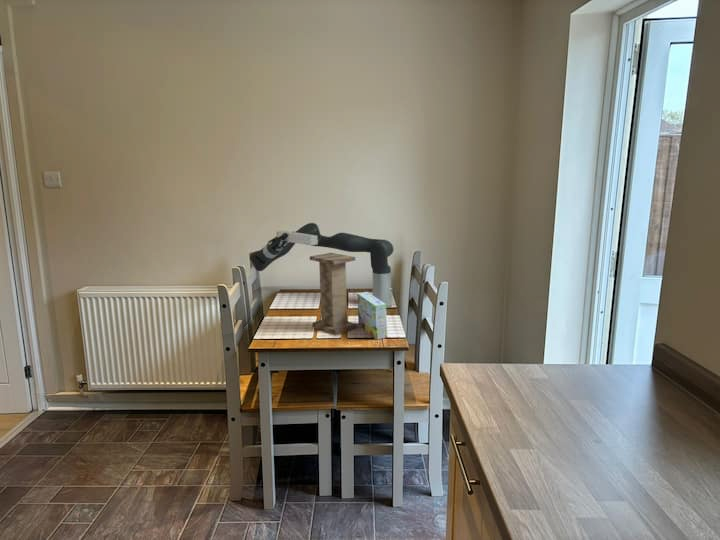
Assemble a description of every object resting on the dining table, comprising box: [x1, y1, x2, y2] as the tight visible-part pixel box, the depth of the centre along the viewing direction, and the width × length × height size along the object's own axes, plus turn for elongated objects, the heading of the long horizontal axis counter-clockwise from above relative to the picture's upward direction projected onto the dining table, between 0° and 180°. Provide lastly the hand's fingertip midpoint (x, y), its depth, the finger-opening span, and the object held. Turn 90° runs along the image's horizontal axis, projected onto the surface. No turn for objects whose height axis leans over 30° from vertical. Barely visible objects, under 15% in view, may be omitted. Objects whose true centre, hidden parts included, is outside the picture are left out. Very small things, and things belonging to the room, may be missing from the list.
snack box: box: [356, 291, 388, 341], centre depth 206 cm, size 21×6×15 cm, turn 21°
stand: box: [309, 252, 358, 336], centre depth 210 cm, size 16×12×32 cm
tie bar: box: [275, 230, 318, 246], centre depth 223 cm, size 26×4×4 cm, turn 44°
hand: (290, 233), depth 226 cm, fingers closed on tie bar, 4 cm apart
